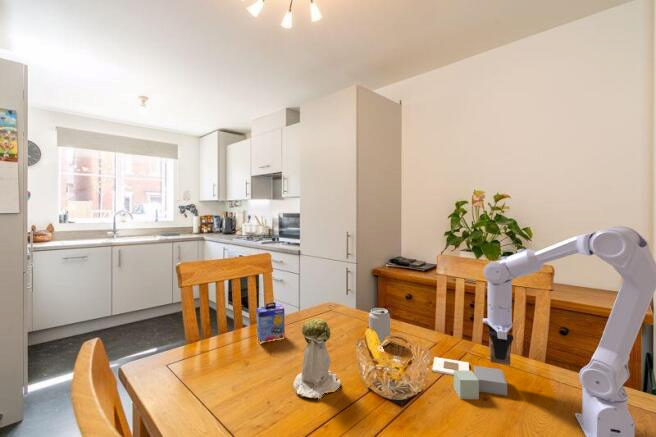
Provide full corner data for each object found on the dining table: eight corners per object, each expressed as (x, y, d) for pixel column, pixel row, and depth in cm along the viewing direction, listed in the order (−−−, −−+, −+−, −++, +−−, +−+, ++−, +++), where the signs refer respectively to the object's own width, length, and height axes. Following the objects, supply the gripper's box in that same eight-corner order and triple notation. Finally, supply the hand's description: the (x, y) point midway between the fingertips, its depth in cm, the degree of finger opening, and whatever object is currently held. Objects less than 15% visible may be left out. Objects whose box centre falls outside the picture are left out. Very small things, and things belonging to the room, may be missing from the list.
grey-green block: (478, 399, 78) (478, 380, 78) (460, 399, 79) (460, 380, 78) (471, 388, 83) (471, 370, 83) (453, 388, 83) (453, 370, 83)
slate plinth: (507, 396, 80) (507, 383, 79) (477, 392, 82) (477, 379, 82) (501, 381, 86) (501, 369, 86) (474, 377, 88) (473, 365, 88)
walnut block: (510, 365, 81) (510, 346, 81) (490, 362, 83) (490, 343, 82) (508, 357, 85) (508, 339, 85) (489, 354, 87) (489, 336, 87)
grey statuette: (285, 385, 87) (283, 320, 86) (322, 369, 95) (320, 310, 94) (308, 406, 77) (306, 334, 77) (347, 386, 85) (346, 321, 84)
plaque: (469, 378, 88) (469, 375, 88) (432, 371, 92) (432, 368, 92) (468, 364, 95) (468, 361, 95) (434, 358, 99) (434, 356, 99)
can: (390, 348, 107) (389, 314, 106) (368, 347, 108) (368, 313, 108) (390, 339, 114) (390, 307, 114) (370, 338, 116) (369, 306, 115)
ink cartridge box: (259, 345, 112) (258, 305, 111) (256, 339, 117) (255, 301, 116) (285, 339, 116) (284, 301, 115) (281, 334, 121) (280, 297, 120)
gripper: (481, 296, 91) (481, 340, 92) (484, 312, 78) (484, 364, 79) (508, 298, 89) (508, 344, 89) (516, 315, 75) (516, 370, 76)
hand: (499, 354), depth 84 cm, fingers closed on walnut block, 5 cm apart
